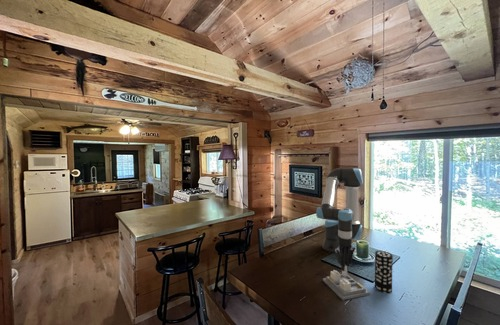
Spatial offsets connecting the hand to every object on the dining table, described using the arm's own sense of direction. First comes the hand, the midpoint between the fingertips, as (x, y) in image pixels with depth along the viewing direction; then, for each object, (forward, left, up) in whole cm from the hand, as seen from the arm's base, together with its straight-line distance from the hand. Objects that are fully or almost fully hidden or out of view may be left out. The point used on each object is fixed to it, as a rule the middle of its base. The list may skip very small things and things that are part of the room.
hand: (344, 275), depth 130 cm
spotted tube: (-16, +12, -4) cm, 20 cm away
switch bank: (+3, +5, -4) cm, 7 cm away
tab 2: (+7, +9, -2) cm, 12 cm away
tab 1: (+6, 0, -2) cm, 7 cm away
